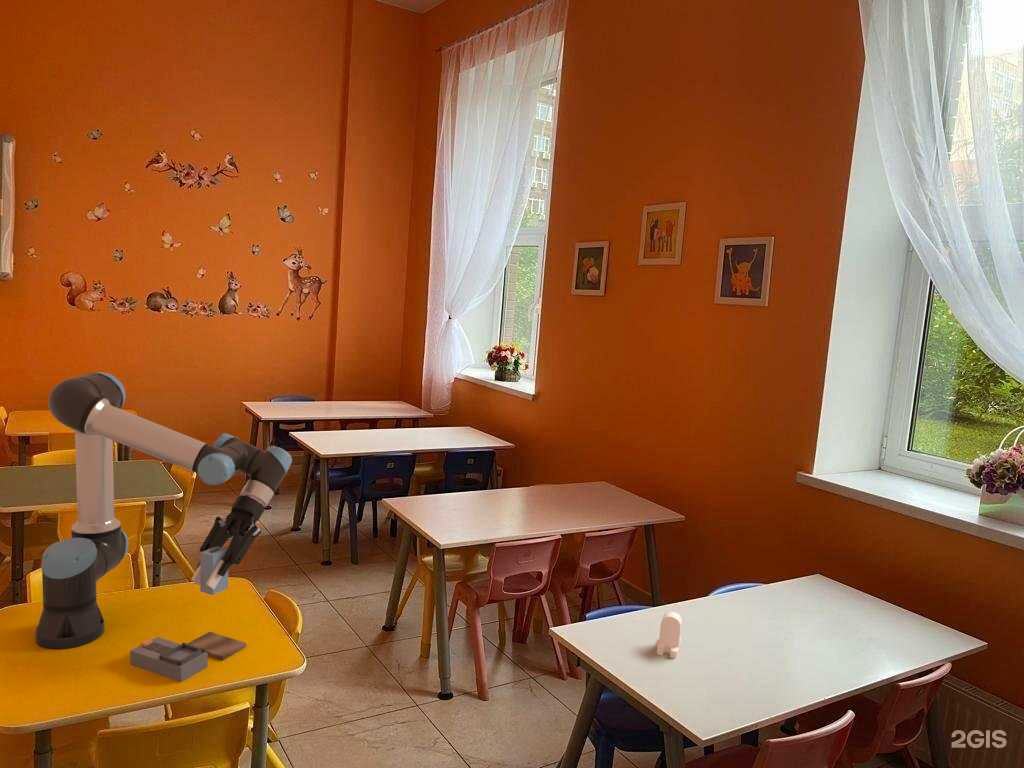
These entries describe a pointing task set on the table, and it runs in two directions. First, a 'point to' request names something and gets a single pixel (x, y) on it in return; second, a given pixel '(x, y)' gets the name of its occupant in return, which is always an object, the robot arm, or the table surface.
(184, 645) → the grey rectangular box
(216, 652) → the walnut board
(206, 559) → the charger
